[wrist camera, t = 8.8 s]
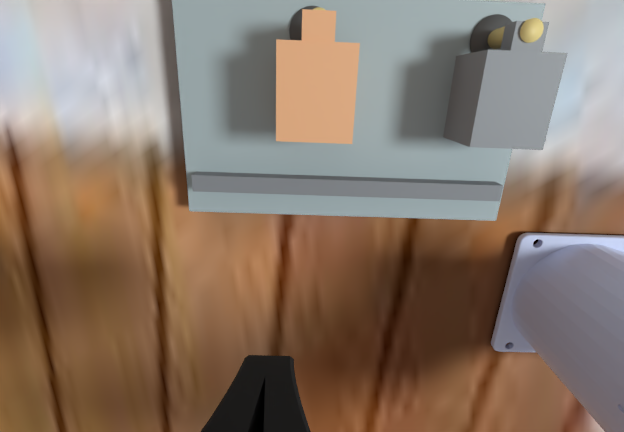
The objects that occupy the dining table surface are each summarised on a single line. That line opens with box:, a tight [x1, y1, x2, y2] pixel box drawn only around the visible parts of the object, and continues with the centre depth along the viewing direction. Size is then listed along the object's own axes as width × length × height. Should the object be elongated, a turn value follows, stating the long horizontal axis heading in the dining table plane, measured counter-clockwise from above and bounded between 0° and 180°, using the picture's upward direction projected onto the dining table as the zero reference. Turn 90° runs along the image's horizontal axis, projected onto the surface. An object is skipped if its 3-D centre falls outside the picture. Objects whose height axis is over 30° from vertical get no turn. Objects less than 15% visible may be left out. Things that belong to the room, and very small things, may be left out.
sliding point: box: [276, 7, 360, 144], centre depth 15 cm, size 3×5×3 cm, turn 178°
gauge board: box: [172, 0, 567, 221], centre depth 16 cm, size 16×10×4 cm, turn 88°
